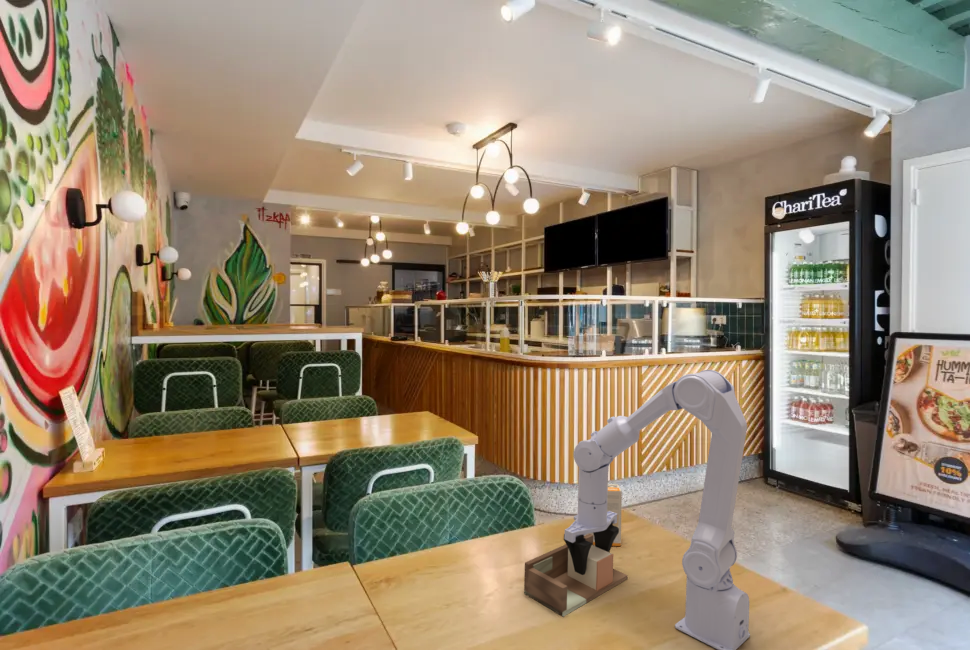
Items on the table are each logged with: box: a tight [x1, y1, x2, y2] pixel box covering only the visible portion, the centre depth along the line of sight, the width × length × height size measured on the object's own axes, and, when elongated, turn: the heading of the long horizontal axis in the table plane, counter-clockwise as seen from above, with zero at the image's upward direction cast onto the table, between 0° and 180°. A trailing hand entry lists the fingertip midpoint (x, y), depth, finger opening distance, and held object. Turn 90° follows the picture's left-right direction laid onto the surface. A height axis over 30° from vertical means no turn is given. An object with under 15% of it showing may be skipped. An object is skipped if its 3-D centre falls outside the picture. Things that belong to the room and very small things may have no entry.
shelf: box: [523, 534, 628, 617], centre depth 102 cm, size 10×20×6 cm, turn 132°
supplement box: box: [584, 483, 623, 547], centre depth 122 cm, size 8×5×13 cm, turn 84°
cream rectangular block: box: [568, 545, 614, 591], centre depth 104 cm, size 7×5×6 cm
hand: (590, 566), depth 104 cm, fingers open, 6 cm apart
